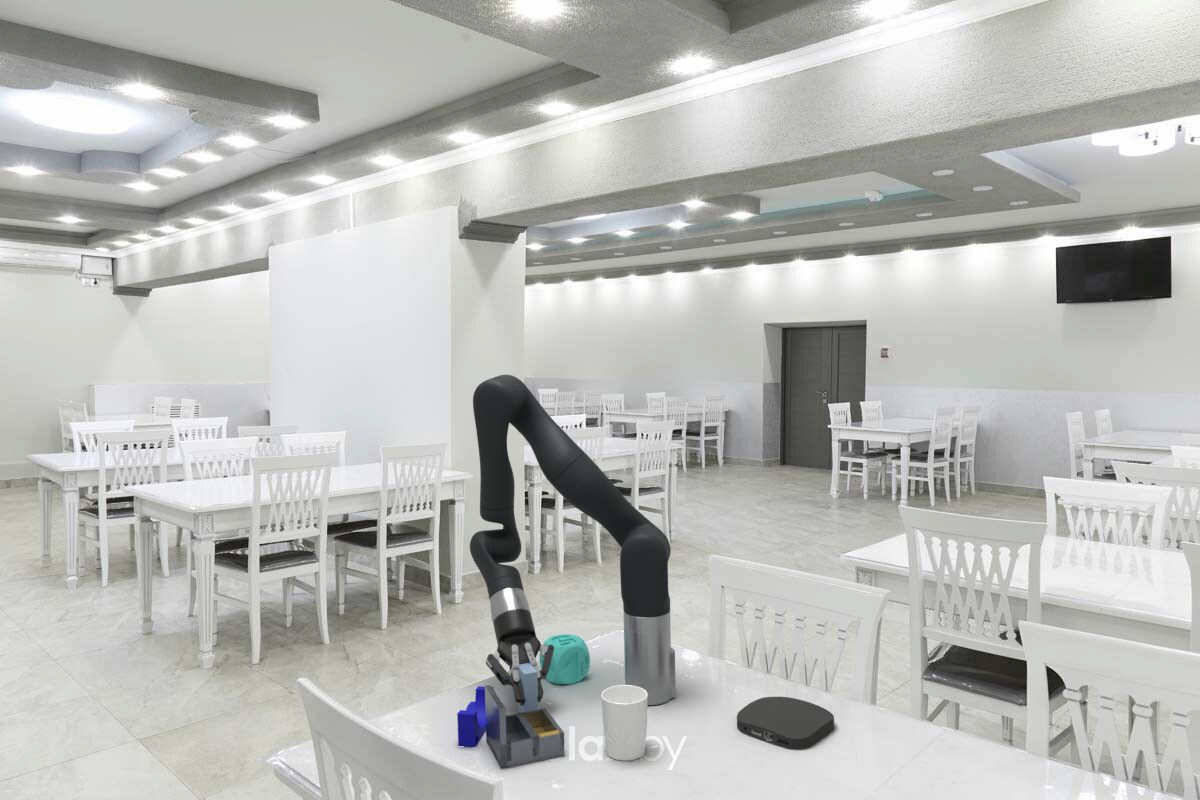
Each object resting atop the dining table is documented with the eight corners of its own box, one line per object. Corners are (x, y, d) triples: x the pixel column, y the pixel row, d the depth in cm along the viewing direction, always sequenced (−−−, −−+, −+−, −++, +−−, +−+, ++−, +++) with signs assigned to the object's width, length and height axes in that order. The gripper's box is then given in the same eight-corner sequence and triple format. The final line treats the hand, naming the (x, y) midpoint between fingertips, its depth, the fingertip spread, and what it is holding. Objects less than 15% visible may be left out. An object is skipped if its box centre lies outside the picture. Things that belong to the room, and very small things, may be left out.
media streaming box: (842, 726, 146) (841, 710, 146) (801, 756, 135) (801, 739, 135) (771, 704, 156) (771, 689, 156) (728, 730, 145) (728, 714, 145)
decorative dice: (556, 688, 165) (556, 649, 164) (539, 675, 172) (538, 638, 171) (590, 679, 169) (590, 642, 168) (572, 667, 176) (571, 631, 175)
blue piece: (471, 717, 152) (470, 685, 152) (494, 718, 152) (493, 686, 152) (450, 747, 141) (449, 713, 140) (475, 748, 140) (474, 714, 140)
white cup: (654, 744, 140) (652, 687, 139) (641, 766, 132) (640, 706, 132) (610, 738, 142) (609, 682, 142) (596, 759, 135) (594, 700, 134)
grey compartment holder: (546, 729, 146) (544, 675, 146) (564, 755, 136) (563, 697, 136) (486, 741, 142) (484, 685, 142) (501, 768, 132) (499, 709, 132)
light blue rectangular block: (531, 714, 153) (529, 662, 152) (538, 725, 148) (537, 671, 147) (518, 716, 152) (516, 664, 151) (525, 727, 147) (524, 674, 146)
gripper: (479, 612, 153) (496, 700, 142) (549, 602, 158) (571, 687, 147) (474, 631, 158) (490, 717, 148) (542, 621, 163) (562, 704, 153)
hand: (530, 701), depth 148 cm, fingers closed on light blue rectangular block, 2 cm apart
